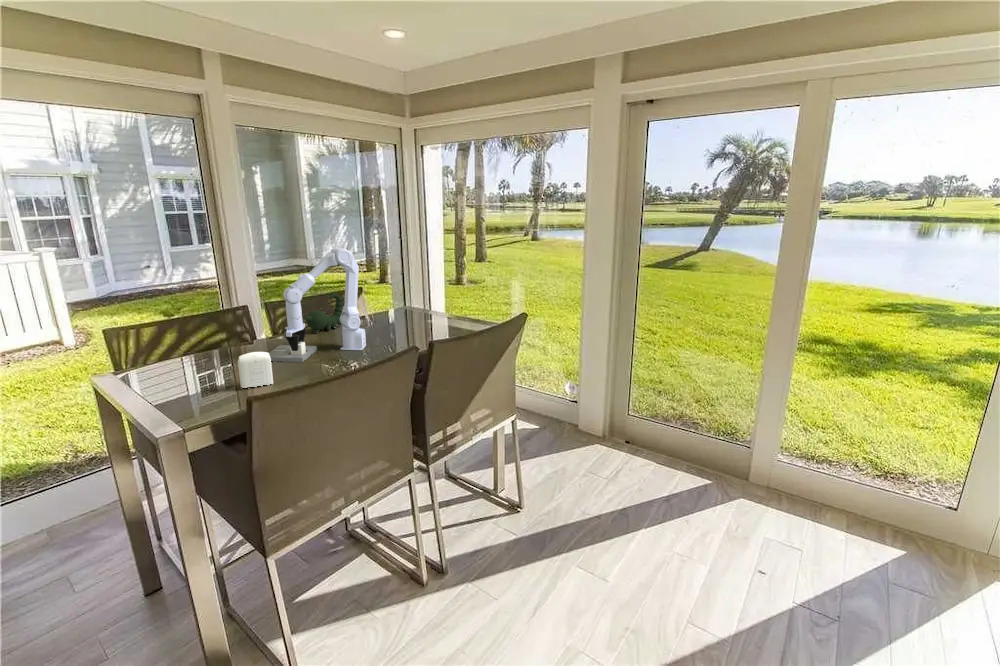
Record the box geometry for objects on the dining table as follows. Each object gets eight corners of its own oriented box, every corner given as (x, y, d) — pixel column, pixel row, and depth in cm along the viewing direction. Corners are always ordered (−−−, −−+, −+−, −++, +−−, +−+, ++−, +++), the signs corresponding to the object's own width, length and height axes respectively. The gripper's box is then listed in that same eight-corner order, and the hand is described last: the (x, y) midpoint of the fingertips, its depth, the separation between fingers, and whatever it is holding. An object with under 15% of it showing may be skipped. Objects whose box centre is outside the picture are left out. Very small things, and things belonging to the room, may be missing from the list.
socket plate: (317, 349, 202) (316, 345, 202) (302, 362, 187) (302, 357, 186) (280, 349, 202) (279, 344, 201) (262, 361, 186) (262, 356, 186)
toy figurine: (335, 326, 245) (297, 334, 222) (335, 291, 241) (296, 294, 219) (349, 329, 241) (311, 336, 219) (349, 293, 237) (310, 297, 215)
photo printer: (272, 381, 167) (268, 348, 164) (274, 385, 164) (270, 351, 160) (240, 386, 162) (235, 353, 158) (241, 390, 158) (236, 356, 155)
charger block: (306, 355, 196) (304, 340, 194) (302, 358, 192) (300, 343, 190) (295, 355, 196) (294, 340, 194) (291, 358, 191) (289, 343, 190)
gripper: (292, 312, 196) (295, 343, 199) (276, 321, 182) (280, 353, 185) (308, 312, 196) (311, 343, 200) (294, 321, 182) (298, 354, 186)
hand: (297, 348), depth 193 cm, fingers open, 5 cm apart
